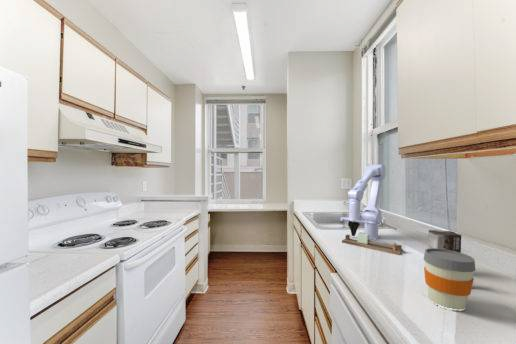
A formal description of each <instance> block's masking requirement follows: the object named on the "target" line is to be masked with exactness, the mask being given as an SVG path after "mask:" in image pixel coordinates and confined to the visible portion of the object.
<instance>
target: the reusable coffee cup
mask: <svg viewBox="0 0 516 344" xmlns="http://www.w3.org/2000/svg"><path fill="white" fill-rule="evenodd" d="M423 260H424V265H425V266H424V268H423V272H424V281H425V284H426V287H427V297H428V300H429V299H430V300H431V301H433V302H434V303H436V304H439V305H441V306H444V307H447V308H452V309H458V310H459V309H464V308H465V309H466V306H467V302H468V298H469V296H470V295H471V292H472V289H473V284H474V281H475V279H474V277H473V275H474V272H475V271H476V262H475V258H474V257H472V256H470V255H468V254H465V253H463V252H461V253H460V252H456V251H451V250H446V249H438V248H429V249H428V248H426V249H424V255H423ZM430 300H429V301H430Z"/></svg>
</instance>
